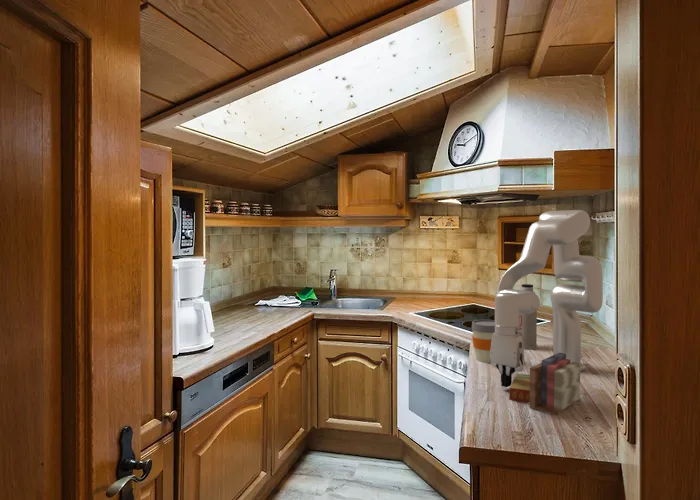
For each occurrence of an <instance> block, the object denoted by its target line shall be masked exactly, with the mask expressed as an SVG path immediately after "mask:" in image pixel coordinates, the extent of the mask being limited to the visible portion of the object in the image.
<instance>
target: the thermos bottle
mask: <svg viewBox="0 0 700 500" xmlns="http://www.w3.org/2000/svg"><path fill="white" fill-rule="evenodd" d="M520 290H523V291H530V292H533V293H535V294H536V292H535V291H534V284H530V283H529V284H528V283H527V284H524V283H523V284H521V289H520ZM537 320H538V310H537V311H535V312H534V313H531V314H519V326H520V329H521V330H523V333H522V334H519V335H520V336H522V340H523V346H524V350H531V349H532V350H537V346H538V344H537V335H538V334H537V330H538V329H537V323H538V321H537Z"/></svg>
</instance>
